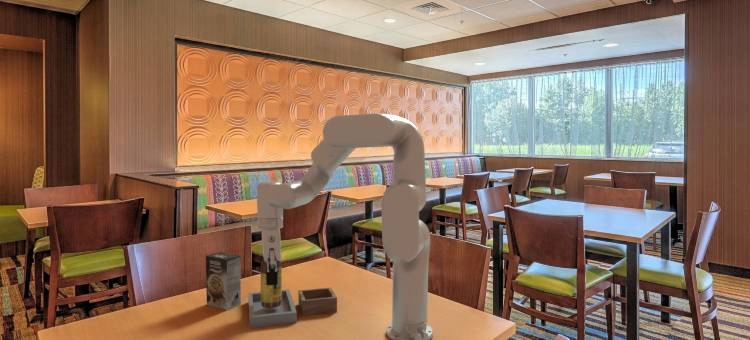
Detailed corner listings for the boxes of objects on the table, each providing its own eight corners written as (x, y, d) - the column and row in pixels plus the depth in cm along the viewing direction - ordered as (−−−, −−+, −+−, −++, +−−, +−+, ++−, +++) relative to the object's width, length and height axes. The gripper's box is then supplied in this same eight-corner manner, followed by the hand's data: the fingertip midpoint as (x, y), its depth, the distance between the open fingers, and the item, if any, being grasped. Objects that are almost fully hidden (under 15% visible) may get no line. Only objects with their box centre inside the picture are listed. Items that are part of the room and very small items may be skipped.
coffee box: (205, 305, 139) (204, 255, 138) (221, 299, 144) (220, 250, 143) (226, 311, 135) (225, 259, 133) (242, 304, 140) (241, 254, 139)
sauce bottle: (276, 310, 130) (275, 244, 128) (257, 308, 131) (255, 243, 130) (285, 301, 136) (284, 239, 135) (266, 300, 138) (265, 238, 136)
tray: (296, 322, 126) (296, 312, 126) (249, 328, 123) (249, 317, 122) (289, 298, 146) (289, 289, 145) (248, 302, 142) (248, 293, 141)
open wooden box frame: (337, 311, 134) (337, 297, 134) (302, 315, 131) (302, 301, 131) (330, 300, 143) (330, 287, 143) (298, 304, 140) (298, 290, 140)
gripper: (285, 227, 125) (286, 289, 126) (280, 217, 141) (281, 271, 143) (258, 229, 123) (259, 291, 124) (256, 218, 139) (257, 273, 140)
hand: (271, 280), depth 133 cm, fingers closed on sauce bottle, 6 cm apart
